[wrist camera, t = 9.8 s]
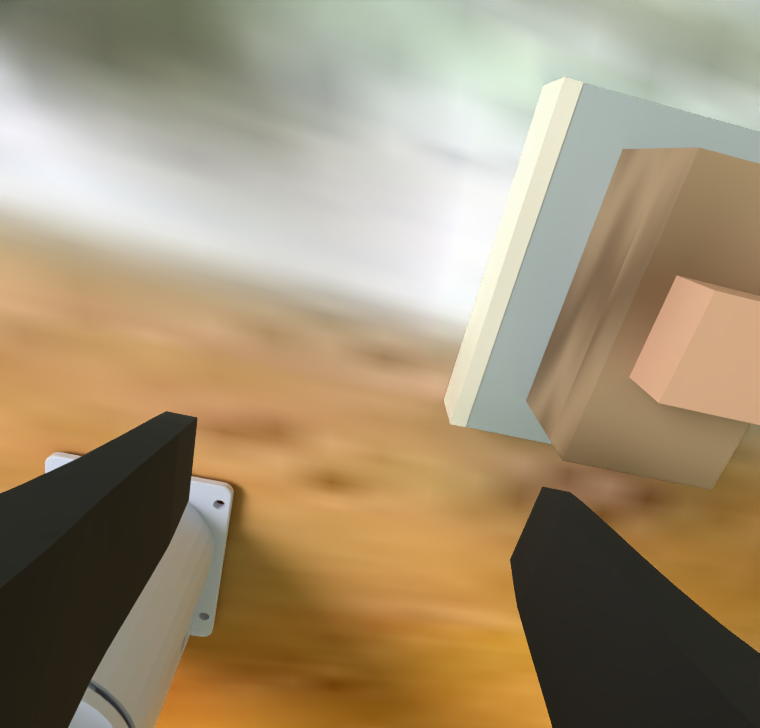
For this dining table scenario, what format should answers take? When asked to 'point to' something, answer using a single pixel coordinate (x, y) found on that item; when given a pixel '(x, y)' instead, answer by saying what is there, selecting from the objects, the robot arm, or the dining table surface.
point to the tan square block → (704, 351)
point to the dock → (557, 238)
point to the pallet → (647, 313)
